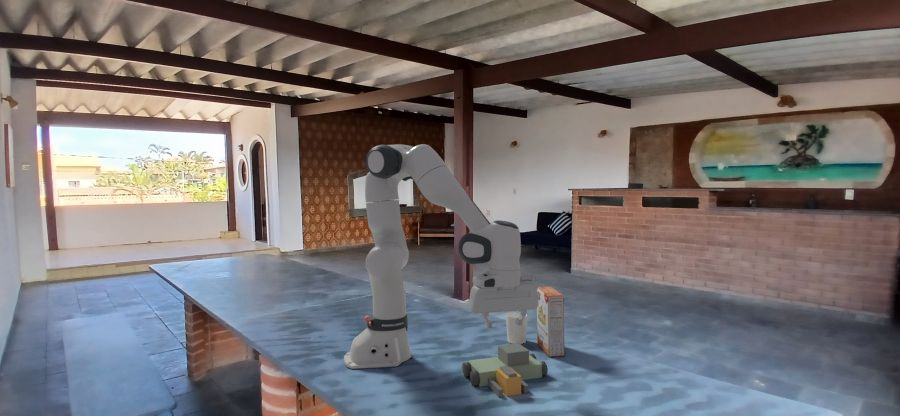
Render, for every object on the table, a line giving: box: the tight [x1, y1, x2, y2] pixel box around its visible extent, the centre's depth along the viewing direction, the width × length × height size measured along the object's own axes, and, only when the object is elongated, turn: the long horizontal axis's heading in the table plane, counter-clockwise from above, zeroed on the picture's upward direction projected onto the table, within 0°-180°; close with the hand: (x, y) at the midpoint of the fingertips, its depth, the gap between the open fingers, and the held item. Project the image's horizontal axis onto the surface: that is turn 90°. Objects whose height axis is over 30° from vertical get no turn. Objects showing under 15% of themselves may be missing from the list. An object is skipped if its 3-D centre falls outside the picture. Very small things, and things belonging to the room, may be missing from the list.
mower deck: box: [461, 343, 549, 398], centre depth 136 cm, size 23×18×8 cm
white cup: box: [505, 311, 528, 345], centre depth 171 cm, size 8×8×10 cm
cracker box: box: [536, 286, 566, 358], centre depth 161 cm, size 14×6×21 cm, turn 5°
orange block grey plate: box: [496, 365, 522, 397], centre depth 130 cm, size 4×7×6 cm, turn 17°
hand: (503, 326), depth 132 cm, fingers open, 8 cm apart
